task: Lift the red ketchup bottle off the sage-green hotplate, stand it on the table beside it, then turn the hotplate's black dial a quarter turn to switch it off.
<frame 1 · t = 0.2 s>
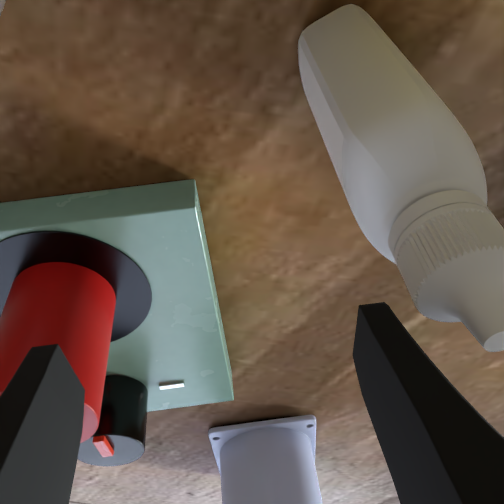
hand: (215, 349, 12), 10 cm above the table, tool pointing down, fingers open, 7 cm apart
eye dropper bottle: (348, 78, 18), on the table
hotplate: (95, 310, 25), on the table
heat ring: (73, 264, 23), resting on hotplate
ketchup bottle: (65, 296, 21), point 2 cm above the table, touching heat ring
dial: (112, 423, 26), point 4 cm above the table, hinge at 0.0°
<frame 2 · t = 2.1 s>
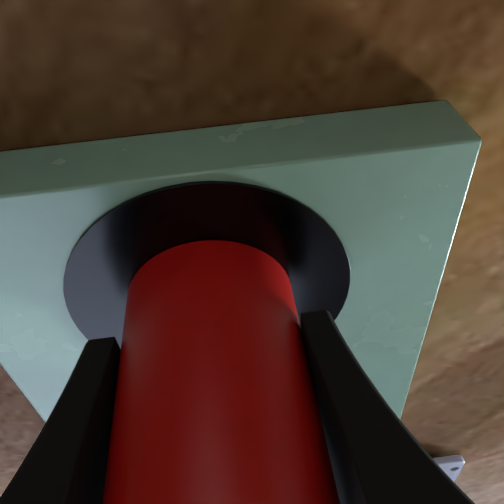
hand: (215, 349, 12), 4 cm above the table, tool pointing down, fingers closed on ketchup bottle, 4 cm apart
hotplate: (222, 320, 17), on the table
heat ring: (208, 248, 14), resting on hotplate
ketchup bottle: (210, 300, 13), point 2 cm above the table, touching gripper, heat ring
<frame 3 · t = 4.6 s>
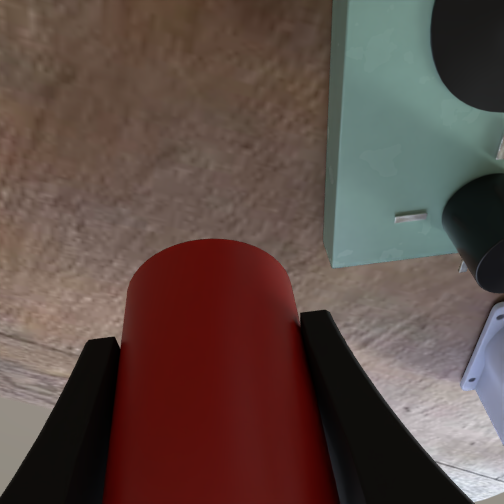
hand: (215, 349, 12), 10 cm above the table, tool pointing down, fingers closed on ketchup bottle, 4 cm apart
hotplate: (490, 80, 19), on the table
ketchup bottle: (210, 299, 13), point 9 cm above the table, touching gripper
dial: (503, 235, 19), point 4 cm above the table, hinge at 0.0°
when the fingers open (2 cm above the table, at t = 7.2 s): ketchup bottle stays where it is, on the table.
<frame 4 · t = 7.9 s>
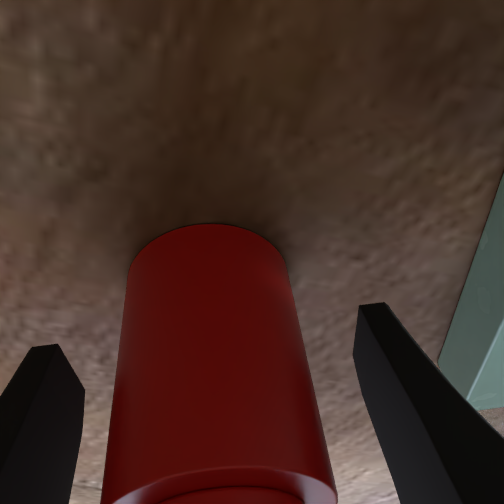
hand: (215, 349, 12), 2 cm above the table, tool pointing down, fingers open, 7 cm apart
ketchup bottle: (208, 284, 13), on the table
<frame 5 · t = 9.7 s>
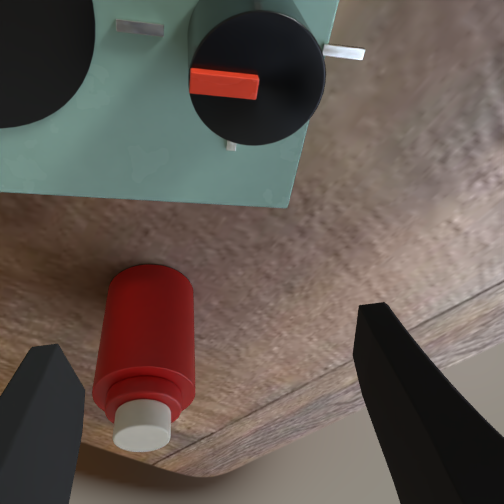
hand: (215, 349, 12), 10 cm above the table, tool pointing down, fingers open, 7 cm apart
hotplate: (94, 0, 15), on the table
ketchup bottle: (151, 293, 25), on the table
dial: (251, 62, 13), point 4 cm above the table, hinge at 0.0°
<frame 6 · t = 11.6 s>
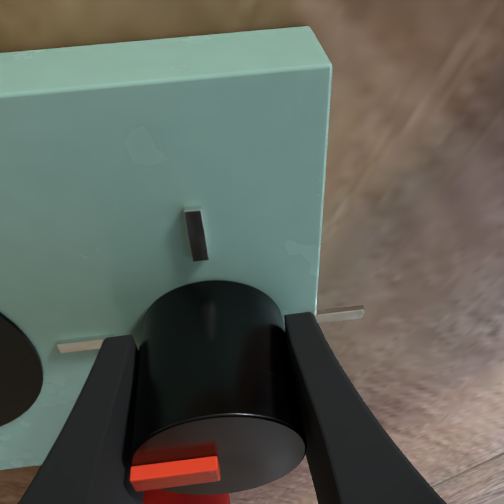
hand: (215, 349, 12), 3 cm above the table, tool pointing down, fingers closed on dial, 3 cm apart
hotplate: (40, 290, 13), on the table
ketchup bottle: (182, 479, 23), on the table
dial: (216, 392, 11), point 4 cm above the table, hinge at 0.1°, touching gripper
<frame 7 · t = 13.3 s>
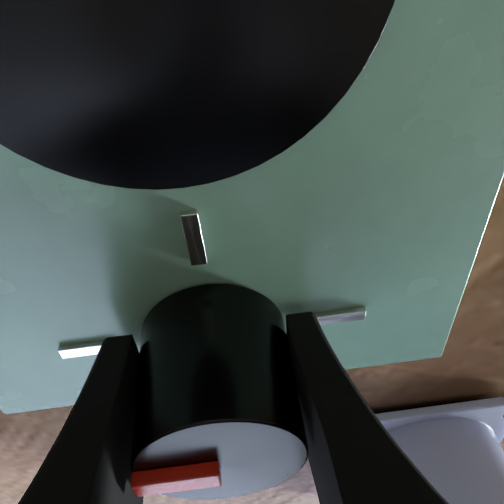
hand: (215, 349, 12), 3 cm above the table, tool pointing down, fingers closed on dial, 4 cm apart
hotplate: (181, 121, 10), on the table
dial: (217, 396, 11), point 4 cm above the table, hinge at 89.1°, touching gripper
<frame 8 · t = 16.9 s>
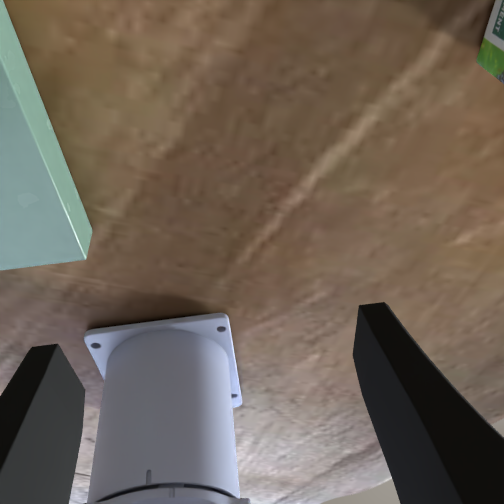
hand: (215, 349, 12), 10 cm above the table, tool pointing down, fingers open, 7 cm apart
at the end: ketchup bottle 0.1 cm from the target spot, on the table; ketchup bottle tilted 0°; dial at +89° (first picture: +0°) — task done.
